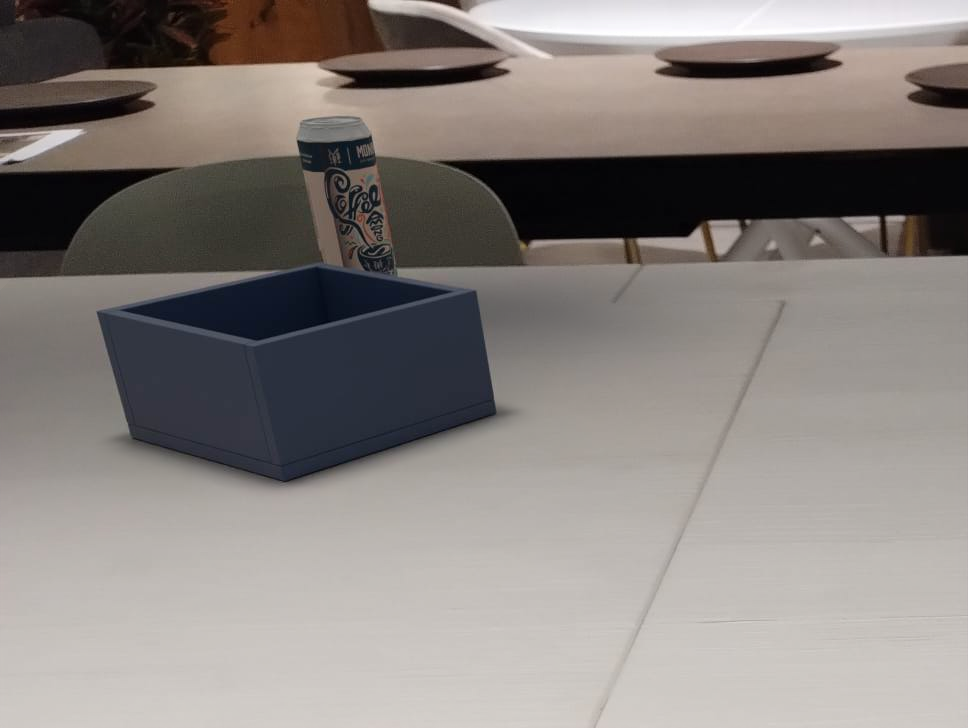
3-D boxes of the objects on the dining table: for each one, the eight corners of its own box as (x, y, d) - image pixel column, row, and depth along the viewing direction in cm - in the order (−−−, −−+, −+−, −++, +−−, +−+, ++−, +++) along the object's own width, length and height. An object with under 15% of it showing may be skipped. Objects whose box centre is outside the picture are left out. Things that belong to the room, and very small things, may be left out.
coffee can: (367, 312, 115) (331, 126, 109) (315, 306, 117) (276, 123, 111) (417, 297, 119) (384, 117, 113) (366, 291, 120) (330, 113, 115)
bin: (130, 437, 91) (95, 311, 87) (344, 377, 100) (319, 262, 97) (284, 481, 84) (253, 346, 81) (497, 412, 94) (476, 290, 90)
